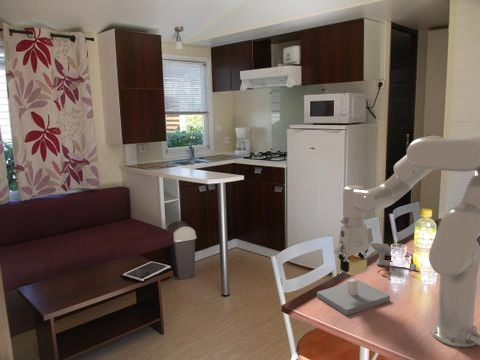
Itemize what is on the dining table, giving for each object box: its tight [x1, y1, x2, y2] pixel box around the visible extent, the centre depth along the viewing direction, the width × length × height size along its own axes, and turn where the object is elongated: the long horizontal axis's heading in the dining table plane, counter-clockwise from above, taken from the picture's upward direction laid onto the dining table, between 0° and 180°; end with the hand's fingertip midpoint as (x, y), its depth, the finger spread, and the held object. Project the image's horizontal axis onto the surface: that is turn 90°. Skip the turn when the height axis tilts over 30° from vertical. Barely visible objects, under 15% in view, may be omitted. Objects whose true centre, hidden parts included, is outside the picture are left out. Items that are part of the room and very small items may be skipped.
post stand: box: [316, 278, 391, 316], centre depth 150 cm, size 16×20×7 cm
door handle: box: [370, 242, 417, 271], centre depth 180 cm, size 18×8×20 cm
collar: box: [337, 254, 368, 277], centre depth 148 cm, size 7×7×4 cm
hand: (352, 268), depth 149 cm, fingers closed on collar, 7 cm apart
